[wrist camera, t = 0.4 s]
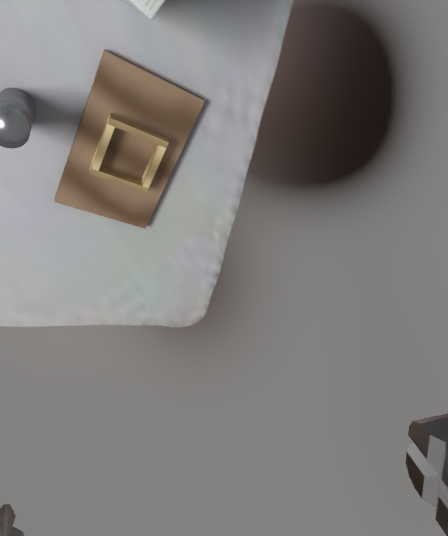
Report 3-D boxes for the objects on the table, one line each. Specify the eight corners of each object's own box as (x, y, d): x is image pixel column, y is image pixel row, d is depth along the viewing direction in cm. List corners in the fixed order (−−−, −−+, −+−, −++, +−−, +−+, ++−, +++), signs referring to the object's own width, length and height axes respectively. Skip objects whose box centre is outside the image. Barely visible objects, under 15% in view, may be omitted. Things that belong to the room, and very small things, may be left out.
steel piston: (0, 81, 45) (-10, 101, 39) (39, 97, 47) (34, 118, 41) (-8, 115, 47) (-19, 139, 41) (30, 128, 49) (24, 153, 43)
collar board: (104, 49, 46) (106, 54, 44) (203, 98, 53) (209, 105, 50) (54, 198, 55) (53, 208, 53) (144, 225, 61) (147, 235, 59)
